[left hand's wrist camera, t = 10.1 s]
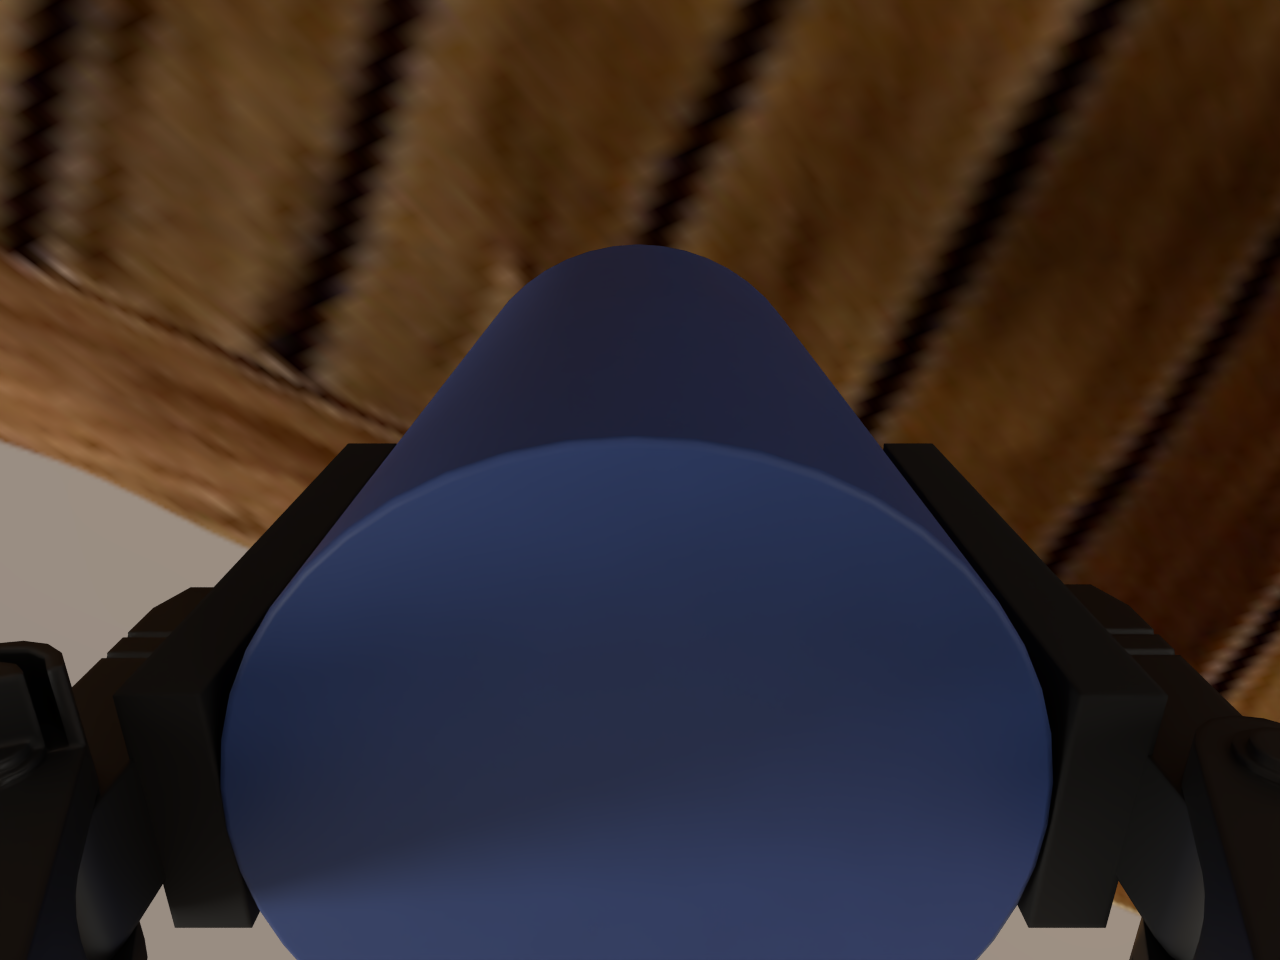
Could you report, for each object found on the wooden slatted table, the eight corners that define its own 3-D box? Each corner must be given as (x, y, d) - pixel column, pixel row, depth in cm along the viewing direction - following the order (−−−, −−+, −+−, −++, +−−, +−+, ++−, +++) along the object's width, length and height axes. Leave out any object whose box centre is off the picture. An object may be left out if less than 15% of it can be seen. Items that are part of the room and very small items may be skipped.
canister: (459, 553, 20) (236, 1073, 9) (476, 221, 18) (186, 381, 6) (776, 588, 21) (938, 1129, 10) (842, 268, 18) (1182, 498, 7)
